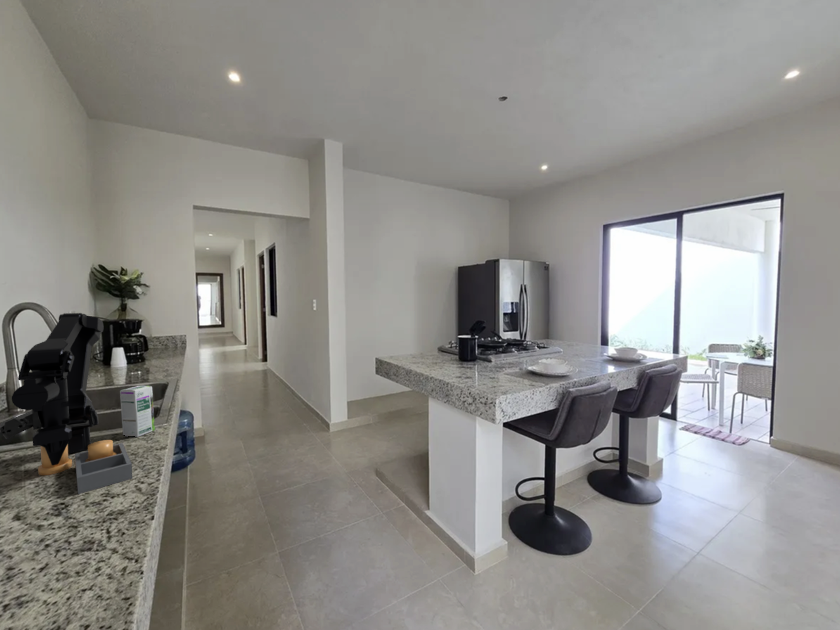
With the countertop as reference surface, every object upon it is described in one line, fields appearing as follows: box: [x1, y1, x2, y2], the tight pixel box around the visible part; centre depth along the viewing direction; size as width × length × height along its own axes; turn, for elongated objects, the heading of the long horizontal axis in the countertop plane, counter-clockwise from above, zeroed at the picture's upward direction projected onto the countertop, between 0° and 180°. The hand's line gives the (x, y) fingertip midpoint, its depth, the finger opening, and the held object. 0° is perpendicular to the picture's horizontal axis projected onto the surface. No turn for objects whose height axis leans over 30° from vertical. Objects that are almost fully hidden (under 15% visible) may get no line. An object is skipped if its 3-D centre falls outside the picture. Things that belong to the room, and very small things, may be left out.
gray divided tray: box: [74, 439, 133, 495], centre depth 85 cm, size 17×9×6 cm, turn 45°
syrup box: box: [119, 384, 156, 438], centre depth 110 cm, size 6×6×14 cm
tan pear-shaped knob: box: [37, 444, 73, 476], centre depth 87 cm, size 6×6×7 cm
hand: (55, 461), depth 87 cm, fingers closed on tan pear-shaped knob, 5 cm apart
